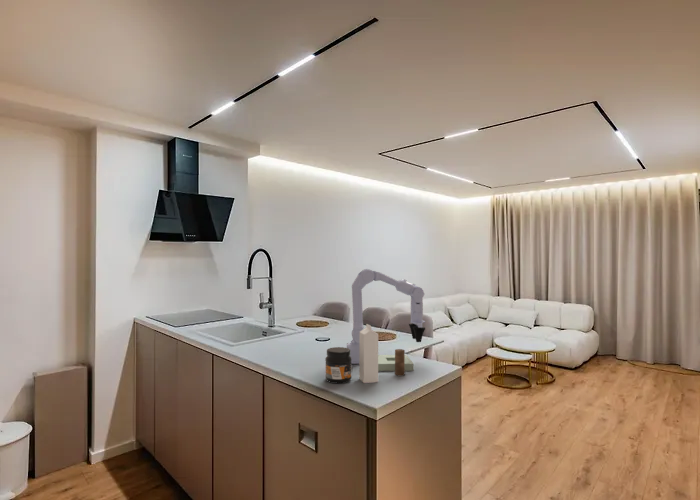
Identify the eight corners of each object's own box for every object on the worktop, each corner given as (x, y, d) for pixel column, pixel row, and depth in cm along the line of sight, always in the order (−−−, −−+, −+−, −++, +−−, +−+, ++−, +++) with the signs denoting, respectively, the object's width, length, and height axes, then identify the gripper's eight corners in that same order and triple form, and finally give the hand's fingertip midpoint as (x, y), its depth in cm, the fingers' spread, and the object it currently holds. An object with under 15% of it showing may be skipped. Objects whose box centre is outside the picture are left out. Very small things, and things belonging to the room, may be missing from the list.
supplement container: (334, 386, 140) (334, 354, 141) (320, 379, 149) (320, 348, 149) (356, 381, 147) (357, 350, 147) (341, 374, 155) (341, 345, 156)
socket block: (377, 370, 161) (377, 363, 161) (372, 361, 176) (373, 354, 177) (413, 370, 161) (413, 363, 161) (406, 361, 177) (406, 354, 177)
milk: (363, 383, 144) (363, 326, 144) (359, 378, 149) (359, 323, 150) (378, 382, 145) (378, 325, 146) (373, 377, 151) (373, 323, 152)
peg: (395, 375, 154) (395, 351, 154) (394, 372, 158) (394, 349, 158) (405, 375, 154) (405, 351, 154) (403, 372, 158) (403, 349, 158)
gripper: (429, 313, 170) (429, 343, 170) (421, 309, 185) (421, 337, 184) (413, 313, 170) (413, 343, 169) (407, 309, 184) (407, 337, 184)
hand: (416, 340), depth 177 cm, fingers open, 7 cm apart
